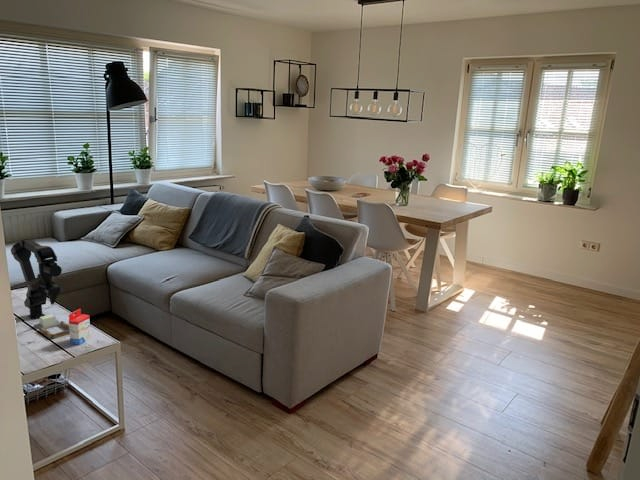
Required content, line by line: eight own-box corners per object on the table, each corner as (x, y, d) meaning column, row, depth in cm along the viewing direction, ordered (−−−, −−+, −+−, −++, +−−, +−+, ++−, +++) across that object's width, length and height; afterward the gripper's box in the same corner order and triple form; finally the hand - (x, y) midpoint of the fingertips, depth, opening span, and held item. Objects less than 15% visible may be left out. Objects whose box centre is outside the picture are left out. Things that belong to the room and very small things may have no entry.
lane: (39, 331, 240) (39, 327, 240) (62, 324, 249) (62, 321, 248) (51, 339, 233) (51, 335, 232) (75, 332, 241) (75, 328, 240)
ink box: (79, 345, 228) (77, 316, 225) (69, 343, 229) (67, 314, 226) (91, 337, 236) (89, 309, 233) (82, 336, 237) (80, 307, 234)
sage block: (40, 324, 246) (39, 317, 245) (52, 321, 251) (52, 313, 250) (43, 326, 244) (43, 319, 243) (56, 323, 249) (55, 316, 248)
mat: (34, 325, 246) (34, 324, 246) (55, 319, 254) (55, 319, 254) (41, 330, 241) (41, 329, 241) (62, 324, 249) (62, 323, 249)
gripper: (20, 271, 242) (23, 300, 245) (36, 280, 230) (39, 311, 234) (44, 266, 250) (46, 295, 254) (60, 275, 239) (63, 305, 243)
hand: (48, 301), depth 246 cm, fingers open, 9 cm apart
